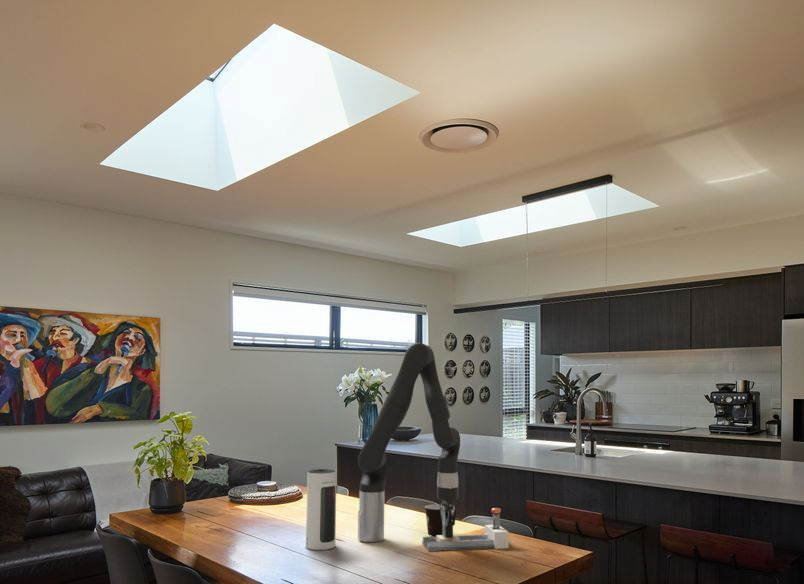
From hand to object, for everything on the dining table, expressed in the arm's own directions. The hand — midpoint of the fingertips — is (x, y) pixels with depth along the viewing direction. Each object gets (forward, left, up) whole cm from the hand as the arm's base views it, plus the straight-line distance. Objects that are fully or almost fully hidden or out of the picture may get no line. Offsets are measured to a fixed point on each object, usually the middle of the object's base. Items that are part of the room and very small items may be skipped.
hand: (447, 535), depth 217 cm
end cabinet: (+18, 0, -4) cm, 18 cm away
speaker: (-44, +7, -4) cm, 45 cm away
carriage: (0, 0, -2) cm, 2 cm away
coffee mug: (+1, +19, -4) cm, 19 cm away
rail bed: (+5, 0, -4) cm, 7 cm away
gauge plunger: (+18, 0, -1) cm, 18 cm away
